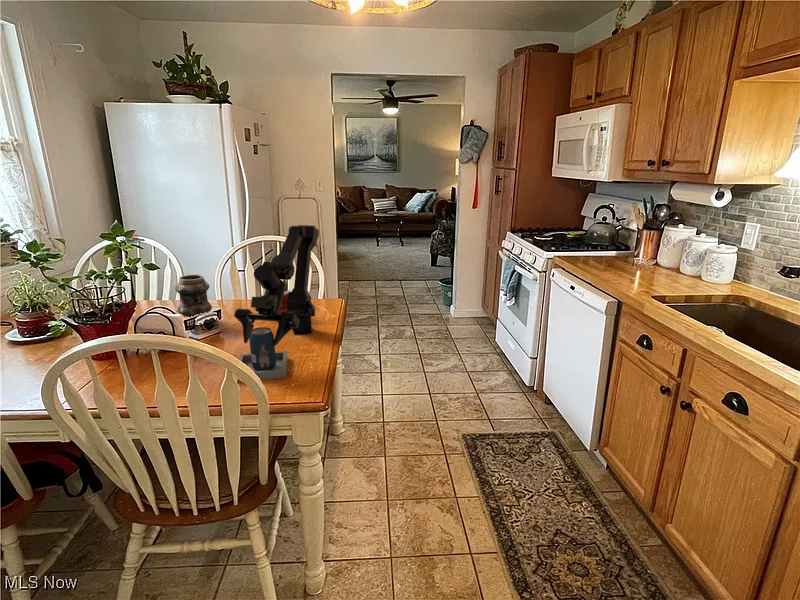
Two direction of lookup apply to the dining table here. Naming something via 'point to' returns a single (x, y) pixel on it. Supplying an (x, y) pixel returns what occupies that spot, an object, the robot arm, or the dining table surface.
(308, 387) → the dining table surface
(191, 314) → the apothecary jar
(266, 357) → the soda can
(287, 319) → the robot arm
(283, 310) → the canned food
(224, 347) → the dining table surface
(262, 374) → the tray
